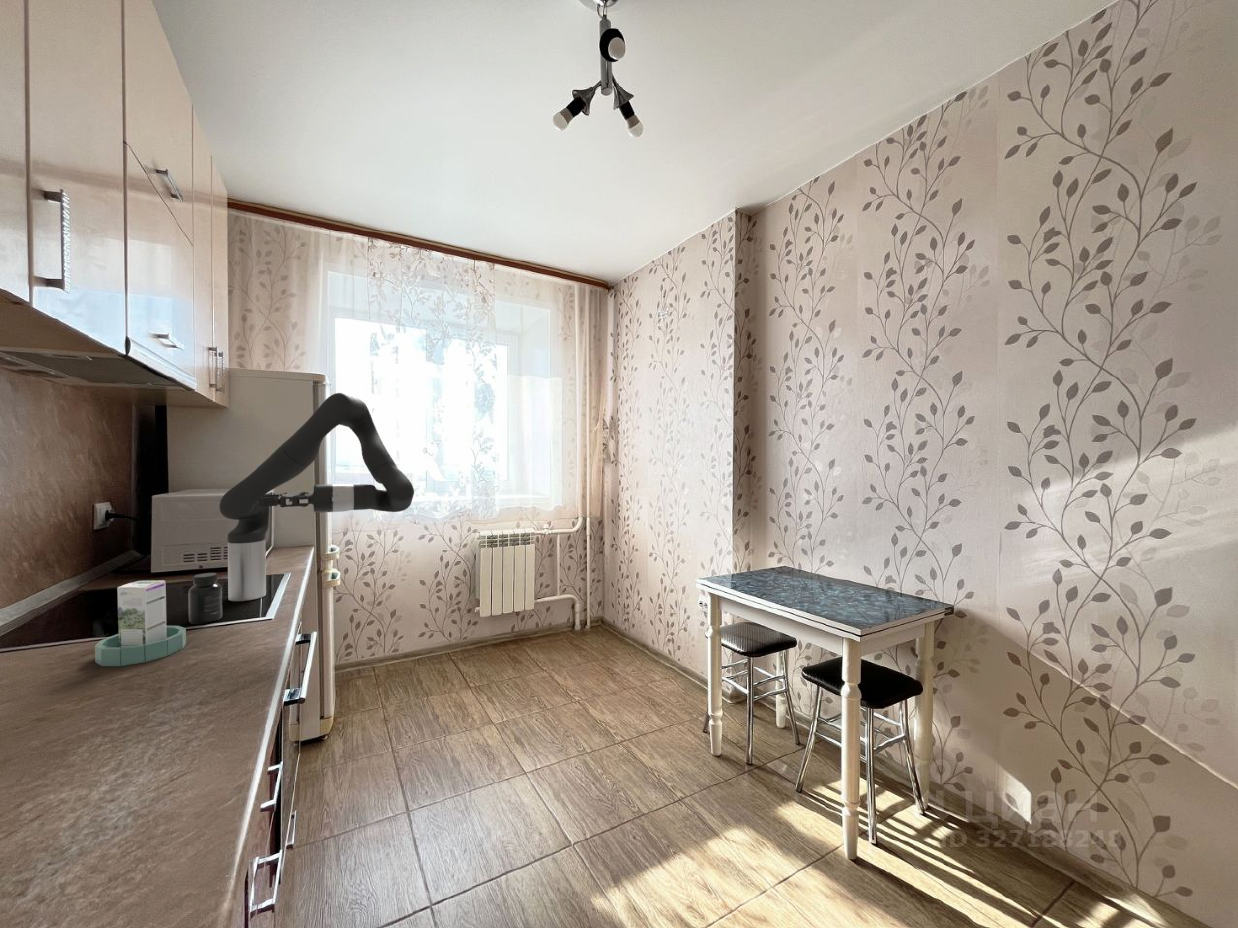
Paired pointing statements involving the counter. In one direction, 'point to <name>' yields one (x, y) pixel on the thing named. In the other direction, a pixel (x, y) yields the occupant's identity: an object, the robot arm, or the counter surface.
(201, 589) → the supplement bottle
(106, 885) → the counter surface
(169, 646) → the bowl
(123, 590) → the syrup box
